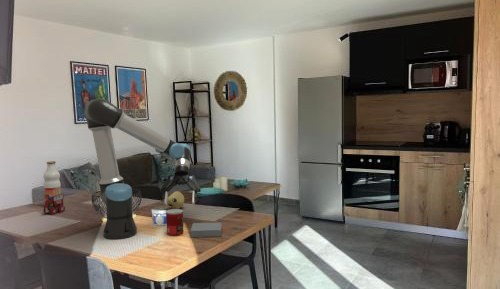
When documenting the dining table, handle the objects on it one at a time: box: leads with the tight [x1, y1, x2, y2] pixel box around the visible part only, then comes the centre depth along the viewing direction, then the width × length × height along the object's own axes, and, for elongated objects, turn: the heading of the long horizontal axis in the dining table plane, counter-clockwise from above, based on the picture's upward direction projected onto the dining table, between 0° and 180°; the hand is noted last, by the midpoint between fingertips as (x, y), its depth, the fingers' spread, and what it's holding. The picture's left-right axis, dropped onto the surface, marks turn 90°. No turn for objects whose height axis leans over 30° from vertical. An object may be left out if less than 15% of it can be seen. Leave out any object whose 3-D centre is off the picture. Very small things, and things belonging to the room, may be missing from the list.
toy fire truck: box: [42, 193, 66, 215], centre depth 214 cm, size 7×12×10 cm, turn 155°
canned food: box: [165, 208, 184, 237], centre depth 174 cm, size 8×8×11 cm
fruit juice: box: [43, 161, 62, 203], centre depth 231 cm, size 9×9×28 cm
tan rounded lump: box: [167, 190, 185, 210], centre depth 220 cm, size 10×12×11 cm
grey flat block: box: [190, 222, 223, 238], centre depth 175 cm, size 14×12×3 cm
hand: (179, 203), depth 182 cm, fingers open, 13 cm apart
